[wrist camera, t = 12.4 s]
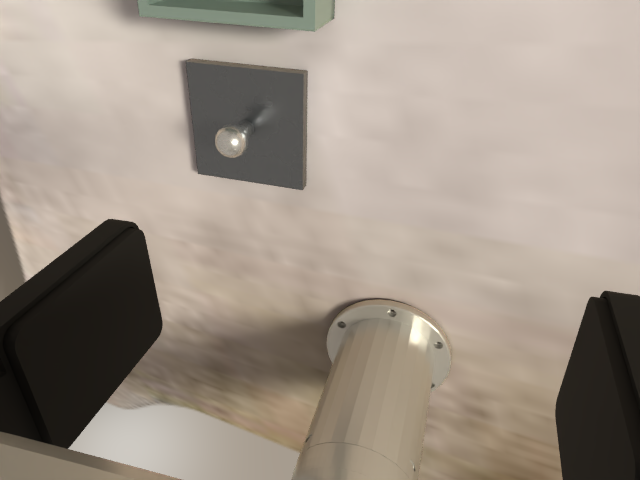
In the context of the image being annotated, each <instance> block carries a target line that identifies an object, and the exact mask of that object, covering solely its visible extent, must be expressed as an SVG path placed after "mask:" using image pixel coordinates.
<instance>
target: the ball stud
mask: <svg viewBox="0 0 640 480" xmlns="http://www.w3.org/2000/svg"><path fill="white" fill-rule="evenodd" d="M186 69H187V78H188V87H189V96H190V105H191V114H192V123H193V132H194V141H195V150H196V159H197V168H198V174H203V175H209V176H216V177H222V178H228V179H235V180H241V181H248V182H254V183H260V184H267V185H273V186H280V187H286V188H292V189H299V190H303V189H304V188H305V186H306V154H307V71H305V70H296V69H286V68H277V67H267V66H257V65H248V64H238V63H229V62H219V61H209V60H200V59H190V60H188V61H186Z"/></svg>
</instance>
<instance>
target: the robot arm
mask: <svg viewBox="0 0 640 480" xmlns="http://www.w3.org/2000/svg"><path fill="white" fill-rule="evenodd" d="M161 330H162V317H161V312H160V307H159V303H158V298H157V293H156V288H155V283H154V279H153V274H152V269H151V264H150V259H149V255H148V250H147V245H146V240H145V236H144V233H143V232H142V230H140V229H139V228H138V226H137V225H136V224H135V223H133V222H129V221H122V220H115V219H108V220H106V221H104V222H103V223H102V224H101V225H99V226H98V227H97V228H95V229H94V230H93V231H91V232H90V233H89V234H88V235H86V236H85V237H84V238H82V239H81V240H80V241H79V242H77V243H76V244H75V245H73V246H72V247H71V248H69V249H68V250H67V251H66V252H64V253H63V254H62V255H60V256H59V257H58V258H56V259H55V260H54V261H53V262H51V263H50V264H49V265H47V266H46V267H45V268H44V269H42V270H41V271H40V272H38V273H37V274H36V275H34V276H33V277H32V278H31V279H29V280H28V281H27V282H25V283H24V284H23V285H22V286H20V287H19V288H18V289H16V290H15V291H14V292H12V293H11V294H10V295H9V296H7V297H6V298H5V299H3V300H2V301H1V302H0V480H181V479H178V478H174V477H170V476H167V475H163V474H159V473H155V472H152V471H148V470H145V469H141V468H137V467H133V466H129V465H126V464H122V463H118V462H114V461H111V460H107V459H103V458H100V457H95V456H92V455H88V454H84V453H80V452H77V451H73V450H69V449H68V448H69V447H70V446H71V444H72V443H73V442H74V441H75V440H76V438H77V437H78V436H79V435H80V434H81V432H82V431H83V430H84V429H85V427H86V426H87V425H88V424H89V422H90V421H91V420H92V418H93V417H94V416H95V414H97V412H98V411H99V410H100V409H101V408H102V406H103V405H104V404H105V403H106V401H107V400H108V399H109V398H110V396H111V395H112V394H113V393H114V391H115V390H116V389H117V388H118V387H119V385H120V384H121V383H122V382H123V380H124V379H125V378H126V377H127V375H128V374H129V373H130V372H131V370H132V369H133V368H134V367H135V365H136V364H137V363H138V362H139V361H140V359H141V358H142V357H143V356H144V354H145V353H146V352H147V351H148V349H149V348H150V347H151V346H152V344H153V343H154V342H155V341H156V340H157V338H158V337H159V335H160V333H161ZM326 346H327V351H328V355H329V358H330V360H331V362H332V364H333V365H332V367H331V370H330V373H329V375H328V378H327V381H326V384H325V386H324V389H323V392H322V395H321V397H320V400H319V403H318V406H317V408H316V411H315V414H314V417H313V419H312V422H311V425H310V428H309V430H308V433H307V436H306V439H305V441H304V444H303V447H302V450H301V452H300V455H299V458H298V461H297V464H296V467H295V469H294V472H293V475H292V480H418V476H419V469H420V462H421V455H422V448H423V441H424V434H425V427H426V420H427V413H428V406H429V399H430V393H431V392H432V391H434V390H436V389H437V388H438V387H439V386H440V385H442V383H443V382H444V381H445V379H446V378H447V376H448V373H449V371H450V367H451V359H452V357H451V347H450V344H449V341H448V339H447V337H446V335H445V333H444V331H443V330H442V329H441V328H440V327H439V325H438V324H437V323H436V322H435V321H434V320H433V319H431V318H430V317H429V316H428V315H426V314H425V313H423V312H421V311H420V310H418V309H416V308H414V307H411V306H409V305H406V304H404V303H400V302H396V301H391V300H379V299H378V300H366V301H362V302H358V303H355V304H353V305H351V306H349V307H347V308H345V309H344V310H343V311H341V312H340V313H339V314H338V315H337V316H336V317H335V319H334V320H333V322H332V324H331V326H330V328H329V331H328V335H327V342H326ZM555 415H556V425H557V434H558V442H559V451H560V459H561V468H562V476H563V480H640V296H638V295H631V294H624V293H617V292H610V291H604V292H603V293H602V294H601V296H600V298H597V297H590V299H589V301H588V303H587V306H586V309H585V313H584V316H583V319H582V322H581V325H580V328H579V331H578V335H577V338H576V341H575V344H574V347H573V350H572V353H571V357H570V360H569V363H568V366H567V369H566V372H565V375H564V378H563V382H562V385H561V388H560V391H559V394H558V397H557V402H556V412H555Z"/></svg>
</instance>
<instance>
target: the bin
mask: <svg viewBox="0 0 640 480" xmlns="http://www.w3.org/2000/svg"><path fill="white" fill-rule="evenodd" d="M137 3H138V9H139V16H142V17H153V18H165V19H176V20H188V21H199V22H211V23H222V24H234V25H245V26H257V27H268V28H280V29H291V30H303V31H314V32H315V31H316V30H318V29H319V28H321V27H322V26H324V25H325V24H326V23H328V22H329V21H331V20H332V19H334V9H335V0H137Z"/></svg>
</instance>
